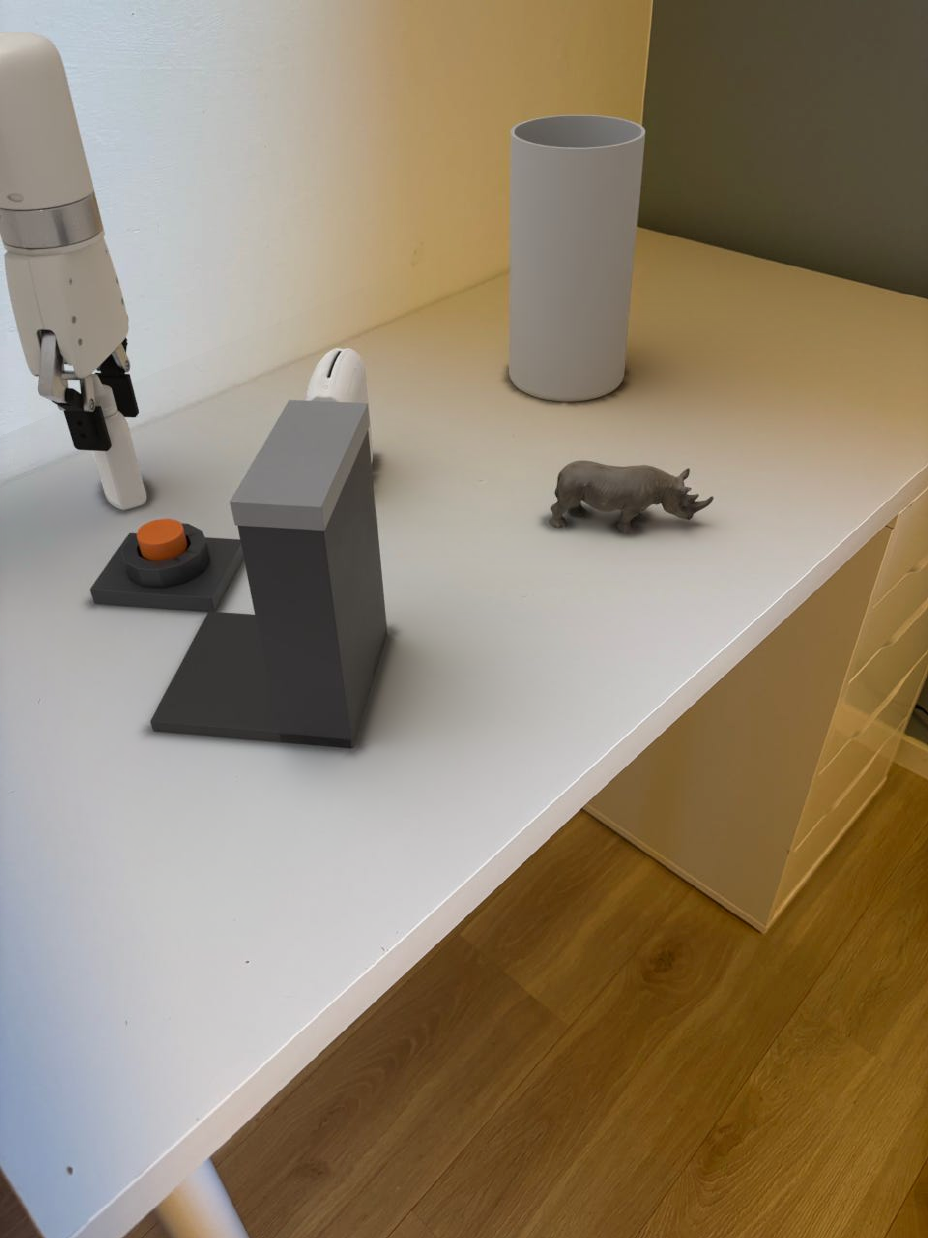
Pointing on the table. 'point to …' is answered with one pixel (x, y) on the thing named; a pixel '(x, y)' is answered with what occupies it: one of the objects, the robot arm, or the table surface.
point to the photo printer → (340, 380)
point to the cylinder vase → (572, 253)
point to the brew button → (162, 539)
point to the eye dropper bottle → (117, 455)
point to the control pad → (170, 575)
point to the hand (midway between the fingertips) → (107, 429)
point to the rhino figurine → (621, 492)
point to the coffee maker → (294, 594)
